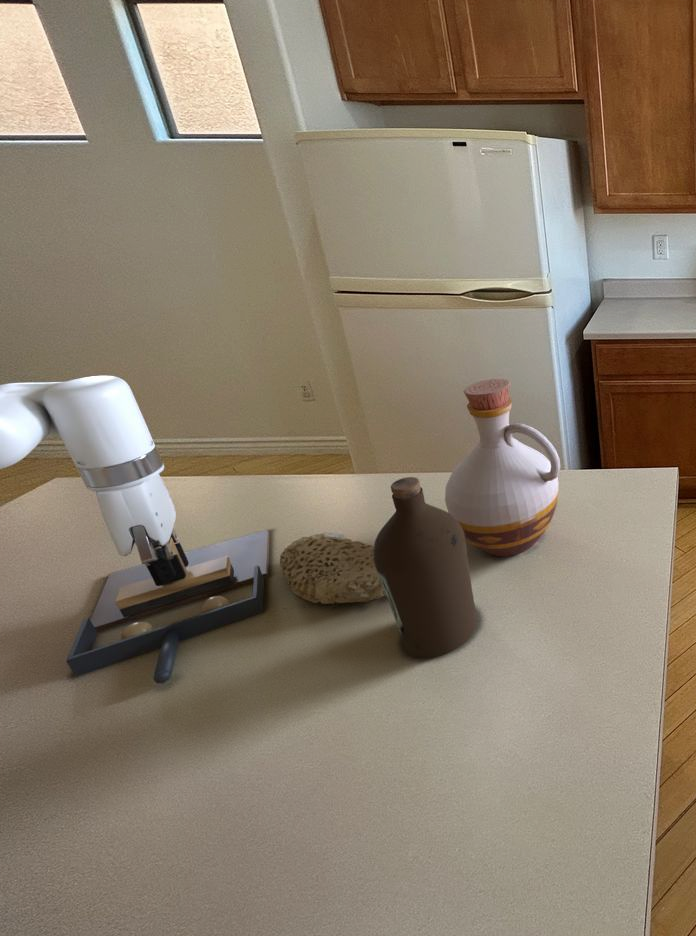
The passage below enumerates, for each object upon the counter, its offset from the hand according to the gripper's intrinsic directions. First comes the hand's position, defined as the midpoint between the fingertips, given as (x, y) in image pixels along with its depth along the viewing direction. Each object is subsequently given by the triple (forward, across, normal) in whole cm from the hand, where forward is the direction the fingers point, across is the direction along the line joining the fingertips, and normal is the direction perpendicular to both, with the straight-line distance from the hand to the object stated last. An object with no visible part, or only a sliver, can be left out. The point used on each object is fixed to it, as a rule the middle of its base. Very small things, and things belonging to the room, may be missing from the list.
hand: (173, 574), depth 81 cm
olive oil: (+5, +29, +30) cm, 42 cm away
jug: (+5, +15, +45) cm, 48 cm away
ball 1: (+3, +7, -4) cm, 9 cm away
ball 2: (+3, +7, +4) cm, 9 cm away
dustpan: (+5, +10, 0) cm, 11 cm away
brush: (+4, 0, 0) cm, 4 cm away
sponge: (+5, +10, +20) cm, 23 cm away
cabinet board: (+5, -6, 0) cm, 8 cm away
